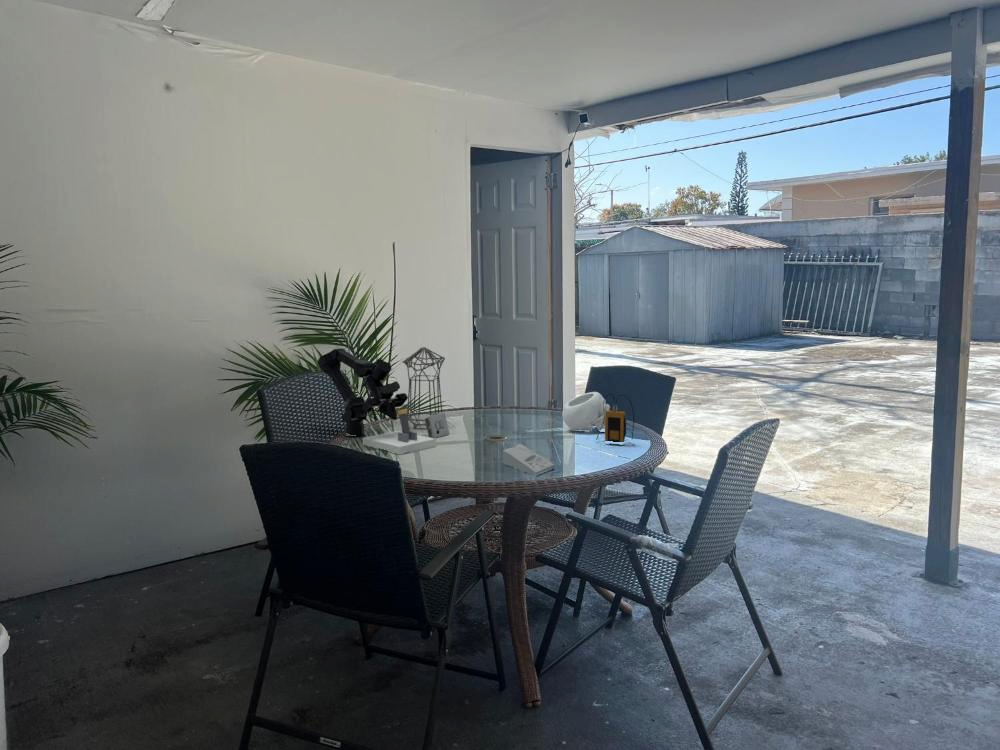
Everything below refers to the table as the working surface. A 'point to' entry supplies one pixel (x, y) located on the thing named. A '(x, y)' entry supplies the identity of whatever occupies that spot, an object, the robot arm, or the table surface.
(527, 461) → the ramp
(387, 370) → the robot arm
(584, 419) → the skull planter
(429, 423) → the electrical switch
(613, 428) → the multimeter
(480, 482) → the table surface
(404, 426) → the handle
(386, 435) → the thin white panel
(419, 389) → the geometric lantern
